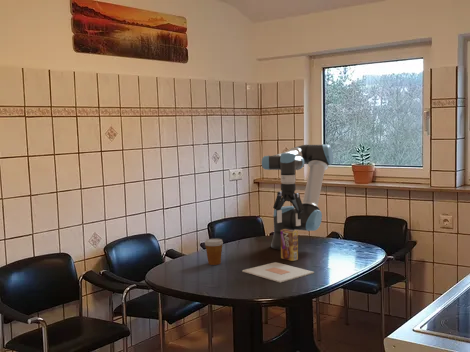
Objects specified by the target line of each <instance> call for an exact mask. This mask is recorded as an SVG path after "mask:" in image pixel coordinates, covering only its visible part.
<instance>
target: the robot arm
mask: <svg viewBox="0 0 470 352" xmlns="http://www.w3.org/2000/svg"><path fill="white" fill-rule="evenodd" d="M333 162H334V153H333V149H332V147H331V145H330V144H302V145H297V146H294V147H292V148H290V149H289V150H287V151H284V152H281V153H277V154H274V155H264V156H263V157H262V159H261V167H262V168H263V170H266V171H272V170H273V171H280V183H281V184H280V190H281V191H277V192H276V194H277V195H276V198H275V200H274V203H273V206H272V207H273V209H274V210H273V236H272V241H271V244H270V248H272V249H274V250H279V251H281V230H282V229H289V230H295V231H306V232H310V231H311V232H313V231H314V232H315V231H317V230H318V229H319V228H320V226H321V224H322V217H323V215H322V211H321V210H320V207H319V206H318V205H319V201H320V197H321V191H322V185H323V181H324V177H325V176H324V174H325V171H326V170H328V168H329V166H331V165H332V164H333ZM305 165H308V167H309V170H308V171H309V172H308V175H307V180H306V185H305V190H304V195H303V199H301V196H300V193H299V192H297V193H295V191H296V187H297V186H296V181H297V180H296V171H299V170H301V169H303V167H304V166H305ZM286 202H289V203H291V204H292V205H287V206H286V205H284V204H285V203H286Z"/></svg>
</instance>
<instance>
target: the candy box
mask: <svg viewBox="0 0 470 352" xmlns="http://www.w3.org/2000/svg"><path fill="white" fill-rule="evenodd" d="M298 231H299V230H289V229H282V230H281V250H280V259H283V260H285V261H286V260H287V261H290V262H294V261H295V262H296V261H298V260H299V232H298Z"/></svg>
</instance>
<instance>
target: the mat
mask: <svg viewBox="0 0 470 352" xmlns="http://www.w3.org/2000/svg"><path fill="white" fill-rule="evenodd" d="M242 273H245V274H246V273H247V274H250V275H253V276H256V277H260V278H263V279H266V280H270V281H272V282H273V281H274V282H276V283H283V282H287V281H291V280H294V279H298V278H302V277H305V276H308V275H312V274H314V273H315V271H312V270H307V269H305V268H301V267H296V266H292V265H288V264H283V263H281V262H276V261H275V262H271V263H267V264H263V265H258V266H255V267H254V266H253V267H250V268H245V269H243V270H242Z"/></svg>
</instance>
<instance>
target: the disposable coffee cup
mask: <svg viewBox="0 0 470 352" xmlns="http://www.w3.org/2000/svg"><path fill="white" fill-rule="evenodd" d="M223 241H224V240H223V238H209V239H205V241H204V246H205V250H206V256H207V263H208V265H211V266H217V265H220V264H221V263H222V255H223V254H222V253H223V245H224V242H223Z"/></svg>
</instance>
